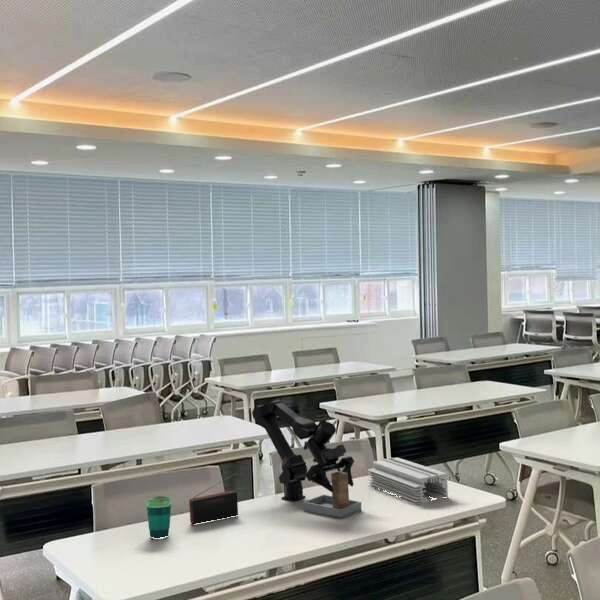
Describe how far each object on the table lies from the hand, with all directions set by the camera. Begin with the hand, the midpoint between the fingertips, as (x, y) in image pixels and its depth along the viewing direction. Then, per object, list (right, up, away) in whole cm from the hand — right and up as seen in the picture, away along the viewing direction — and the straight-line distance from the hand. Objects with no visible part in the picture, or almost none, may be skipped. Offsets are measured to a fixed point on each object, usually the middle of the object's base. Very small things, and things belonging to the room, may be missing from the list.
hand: (342, 488), depth 269 cm
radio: (-43, -11, 0) cm, 44 cm away
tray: (-3, -9, +4) cm, 10 cm away
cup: (-60, -12, -14) cm, 63 cm away
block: (0, -8, +1) cm, 8 cm away
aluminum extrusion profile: (+25, -7, +23) cm, 35 cm away
